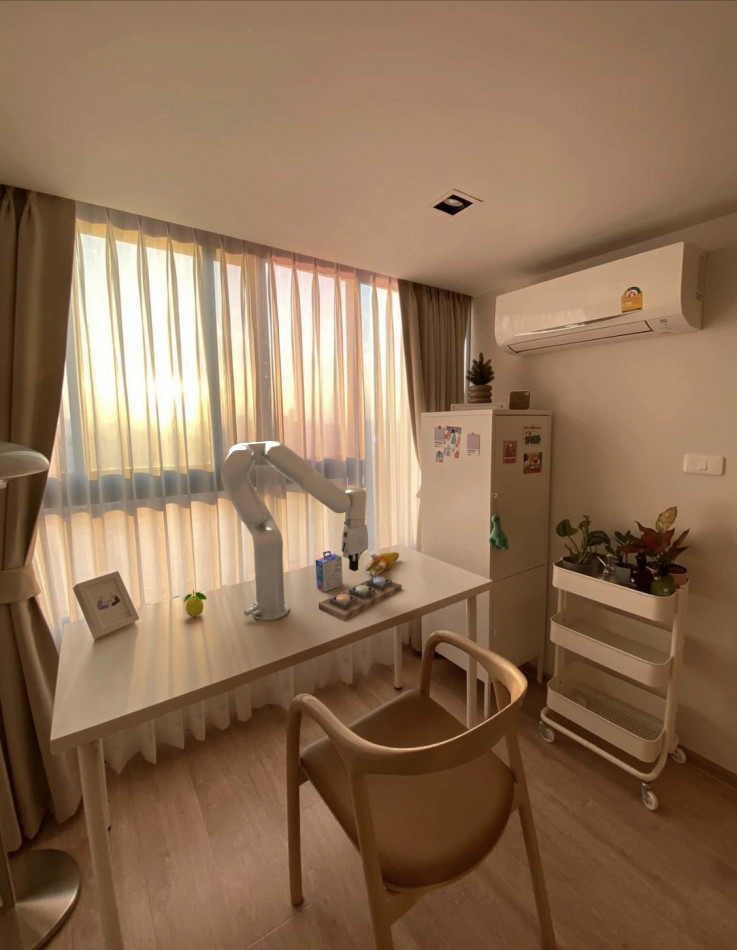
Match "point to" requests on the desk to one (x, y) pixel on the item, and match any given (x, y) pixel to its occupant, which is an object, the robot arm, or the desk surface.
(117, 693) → the desk surface
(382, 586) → the button panel
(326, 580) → the ink cartridge box
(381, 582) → the button slate
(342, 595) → the button terracotta
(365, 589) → the button sage
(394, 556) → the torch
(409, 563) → the desk surface
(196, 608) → the lemon
